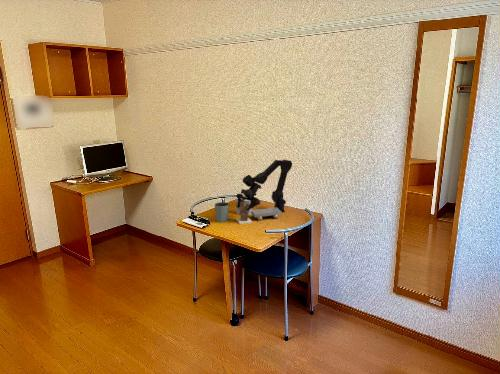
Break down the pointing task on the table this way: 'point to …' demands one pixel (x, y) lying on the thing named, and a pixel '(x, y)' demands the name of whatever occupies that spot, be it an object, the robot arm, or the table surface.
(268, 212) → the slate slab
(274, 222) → the table surface
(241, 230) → the table surface
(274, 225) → the table surface
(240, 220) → the pad
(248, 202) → the light bulb box
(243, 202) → the walnut roller
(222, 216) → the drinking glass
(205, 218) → the table surface
